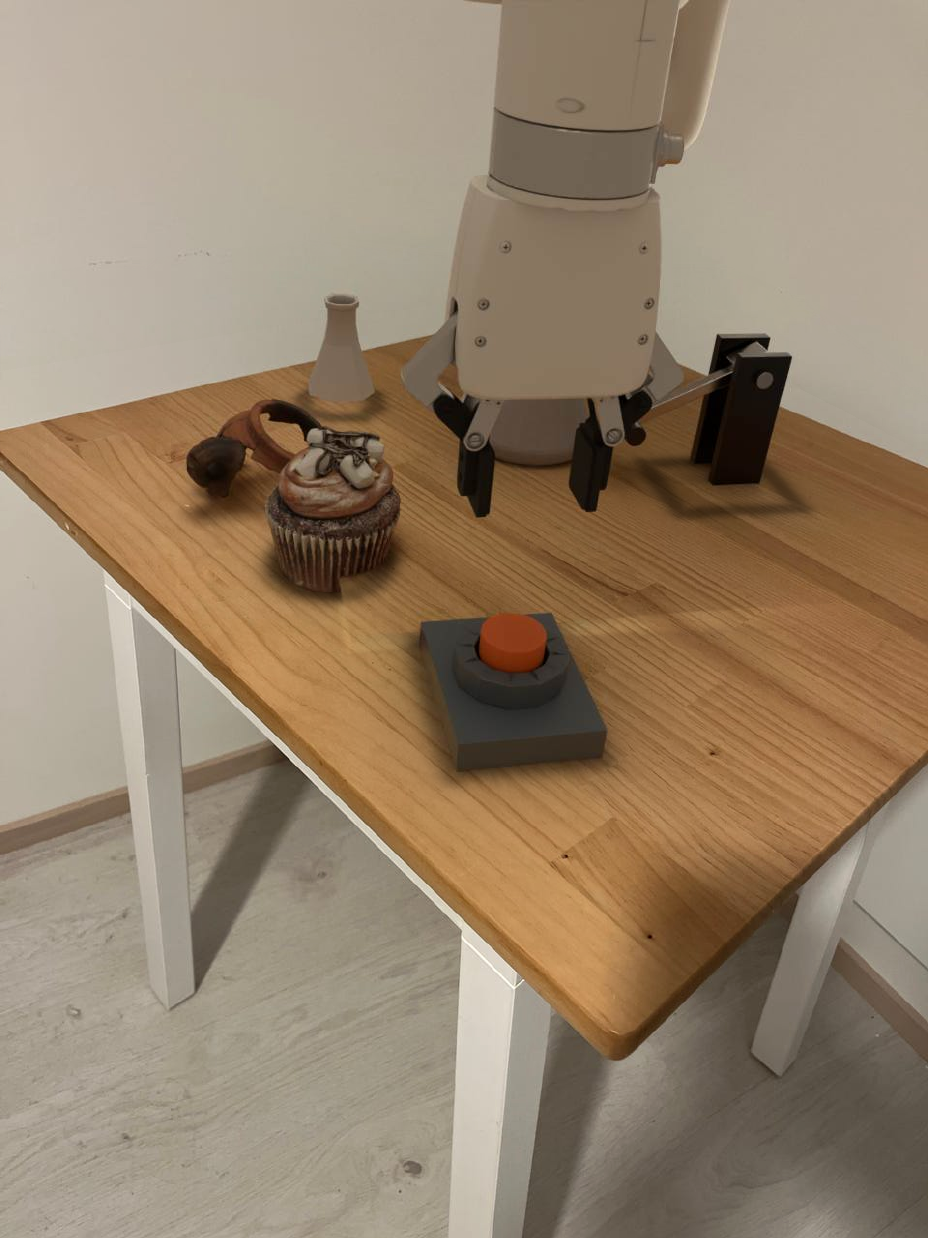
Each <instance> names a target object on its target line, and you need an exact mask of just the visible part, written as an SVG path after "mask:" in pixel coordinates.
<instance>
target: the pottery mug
mask: <svg viewBox="0 0 928 1238" xmlns="http://www.w3.org/2000/svg"><path fill="white" fill-rule="evenodd" d="M263 414H264V415H265V414H268V415H269V417H268V419H267V421H269V422H274V423H283V424H288V425H289V424H290V425H298V427H299V429H300V431H301V433H302V435H303V441H304V442H306V443H307V436H308V433H309V432H310V430H312V429H314V428H315V429H319V428H320V427H321V426H323V425H322V424H321V422H319V420H317V419H316V418H315V417H314V416H313V415H312V414H310V413H309V412H308V411H306V410H305V409H303V408H301V407H300V406H298V405H296V404H294V403H291V402H288V401H285V400H282V399H276V398H271V399H262V400H259V401H257V402H256V403H255V404H254V405H252V407H251V409H247V410H244V411H241V412H238V413H236V414H235V415H233V416H231V417H230V418H229V419H227V420H226V422H225V423H224V424H223V425H222V427H221V428H220V429H219V431H218V433H217V434H216V436H210V437H208V438H205V439H203V440H201V441H199V443H197V444H195V445H193V446H192V448H190V450H189V451H188V453H187V454H186V460H185V462H186V463H185V464H186V472H187V474H188V475H189V478H190V479H191V480H192V481H193V482H194V483H195V484H196V485H197V486H198V487H200V488H202V489H205V490H206V492H207V493H210V494H211V493H212V494H213V495H214V496H215V497H217V498H220V499H224V500H227V499H228V498H229V496H230V491H231V487H232V485H233V482H234V480H235V478H236V476H237V474H238V473H239V472H240V471H241V470H242V468H243V466H244V462H245V460H246V455H247V449H249V450H251V451H252V454H251V455H250V459H251V460H253V461H254V462H256V463H258V464H260V465H261V466H263V467H264V468H266V469H268V470H269V471H271V472H275V473H276V474H278V475H280V473H281V471H282V470H283V468H284V467H285V466H286V465H287V463H288V462H290V460H291V458H292V457H293V456H295V455H296V453H293V452H291V451H289V450H286V449H285V448H284V447H282V446H281V445H280V444H278V443H277V442H276V441H275V440H274V439H273V438H272V437H271V436H270V435H269V434H268V433H267V432H266V429H264V426H263V424H262V421H261V415H263Z"/></svg>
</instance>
